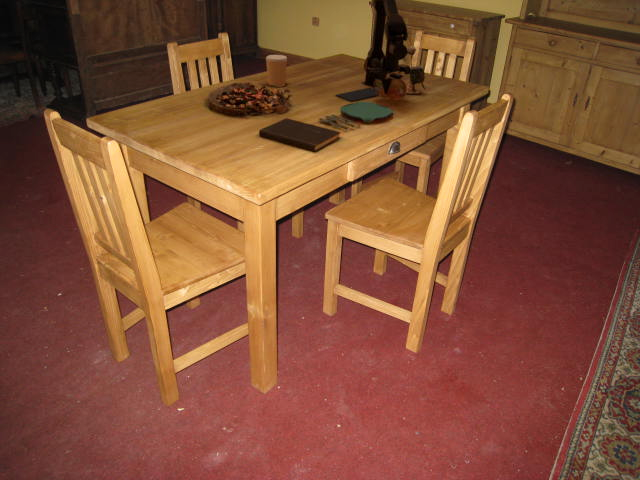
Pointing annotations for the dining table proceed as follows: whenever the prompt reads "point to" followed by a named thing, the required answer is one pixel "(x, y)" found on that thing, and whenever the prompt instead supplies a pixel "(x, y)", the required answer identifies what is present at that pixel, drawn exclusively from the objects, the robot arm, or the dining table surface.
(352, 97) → the placemat
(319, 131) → the hardcover book
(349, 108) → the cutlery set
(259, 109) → the food dish
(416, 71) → the plant with pod
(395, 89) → the tin
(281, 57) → the glass of beer
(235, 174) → the dining table surface
